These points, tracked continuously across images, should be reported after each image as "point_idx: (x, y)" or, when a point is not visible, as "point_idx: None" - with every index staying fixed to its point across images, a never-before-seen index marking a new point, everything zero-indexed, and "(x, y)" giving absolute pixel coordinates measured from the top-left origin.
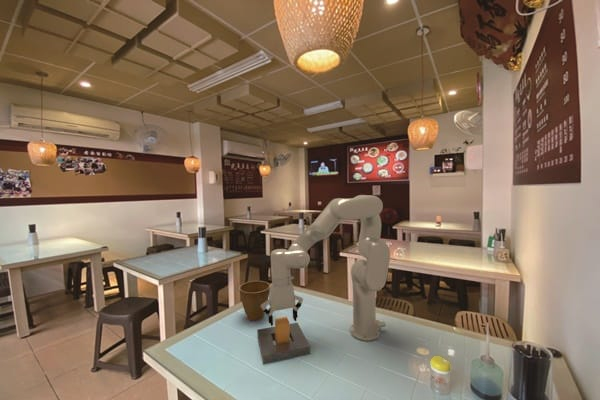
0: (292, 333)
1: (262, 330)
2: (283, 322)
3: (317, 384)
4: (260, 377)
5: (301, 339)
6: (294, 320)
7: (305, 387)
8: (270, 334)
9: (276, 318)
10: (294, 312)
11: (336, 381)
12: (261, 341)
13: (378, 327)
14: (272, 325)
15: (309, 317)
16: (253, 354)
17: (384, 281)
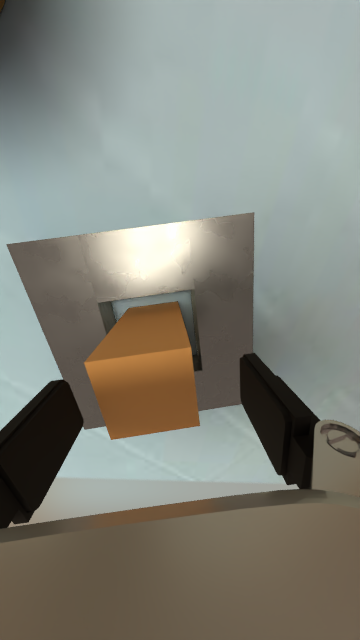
0: (205, 317)
1: (43, 260)
2: (158, 419)
3: (224, 465)
4: (95, 443)
5: (233, 364)
6: (240, 395)
7: (198, 469)
8: (96, 308)
9: (99, 362)
10: (278, 473)
11: (265, 461)
12: (60, 354)
13: None
14: (79, 426)
15: (342, 92)
16: (51, 363)
17: None
